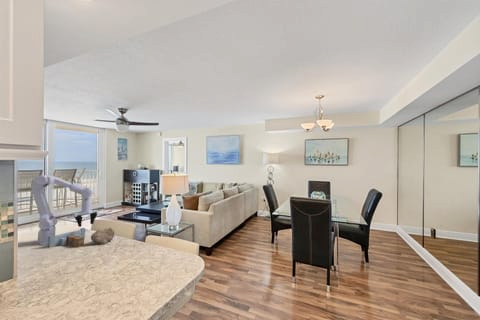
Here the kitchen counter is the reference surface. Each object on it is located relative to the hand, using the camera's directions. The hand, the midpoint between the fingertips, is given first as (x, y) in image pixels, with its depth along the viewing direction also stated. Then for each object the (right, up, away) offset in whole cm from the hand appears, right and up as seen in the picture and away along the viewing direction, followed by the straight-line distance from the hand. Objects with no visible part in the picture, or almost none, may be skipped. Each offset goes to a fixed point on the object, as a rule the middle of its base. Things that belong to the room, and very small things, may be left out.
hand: (85, 225), depth 144 cm
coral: (+16, -10, -6) cm, 19 cm away
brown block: (+1, -9, -11) cm, 14 cm away
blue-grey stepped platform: (-5, -9, -8) cm, 13 cm away
